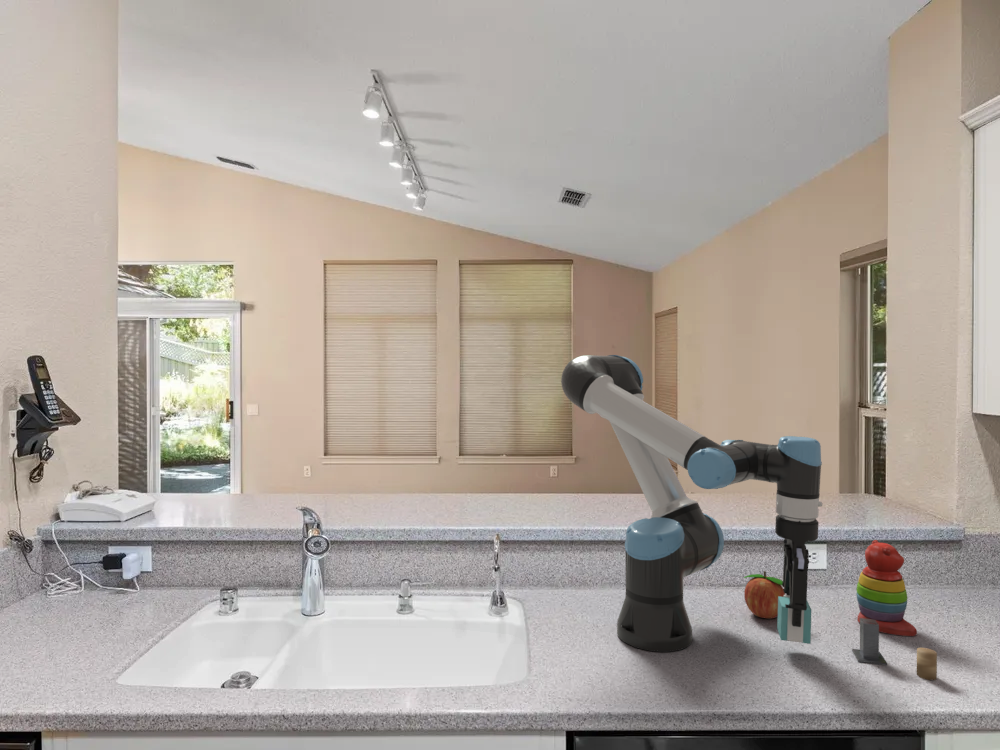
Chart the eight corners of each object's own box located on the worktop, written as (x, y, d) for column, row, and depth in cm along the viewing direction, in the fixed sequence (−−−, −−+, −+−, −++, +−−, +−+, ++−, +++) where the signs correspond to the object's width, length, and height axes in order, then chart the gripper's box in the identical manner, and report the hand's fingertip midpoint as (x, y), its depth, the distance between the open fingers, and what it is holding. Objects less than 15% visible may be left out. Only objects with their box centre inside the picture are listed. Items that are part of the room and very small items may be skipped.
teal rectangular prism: (780, 640, 121) (781, 606, 120) (777, 628, 125) (778, 596, 125) (810, 643, 119) (811, 609, 119) (805, 632, 124) (806, 599, 124)
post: (858, 661, 118) (858, 624, 118) (852, 650, 123) (852, 615, 123) (887, 665, 117) (887, 628, 117) (879, 653, 121) (879, 618, 121)
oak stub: (920, 678, 112) (920, 653, 112) (914, 671, 115) (914, 646, 115) (939, 681, 111) (939, 656, 111) (933, 673, 114) (933, 648, 114)
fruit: (775, 627, 134) (775, 581, 134) (734, 614, 141) (734, 570, 141) (794, 617, 139) (794, 572, 139) (753, 604, 147) (754, 562, 146)
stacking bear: (920, 637, 129) (921, 551, 128) (866, 633, 131) (867, 548, 130) (898, 617, 139) (899, 537, 139) (848, 613, 141) (849, 535, 141)
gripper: (828, 531, 112) (822, 659, 112) (809, 507, 129) (805, 618, 130) (782, 527, 114) (777, 652, 115) (770, 504, 131) (766, 613, 132)
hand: (792, 634), depth 122 cm, fingers closed on teal rectangular prism, 5 cm apart
